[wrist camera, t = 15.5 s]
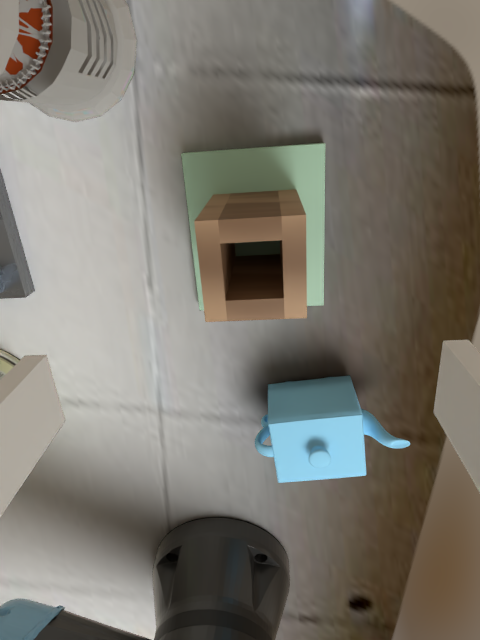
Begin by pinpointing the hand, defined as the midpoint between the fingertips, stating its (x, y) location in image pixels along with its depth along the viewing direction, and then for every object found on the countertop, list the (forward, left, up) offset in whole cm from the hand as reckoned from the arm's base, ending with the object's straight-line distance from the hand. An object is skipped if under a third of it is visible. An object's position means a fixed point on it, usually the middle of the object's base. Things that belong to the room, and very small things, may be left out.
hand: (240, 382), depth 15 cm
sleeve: (0, 0, -20) cm, 20 cm away
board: (0, 0, -21) cm, 21 cm away
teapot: (-16, -5, -21) cm, 27 cm away
